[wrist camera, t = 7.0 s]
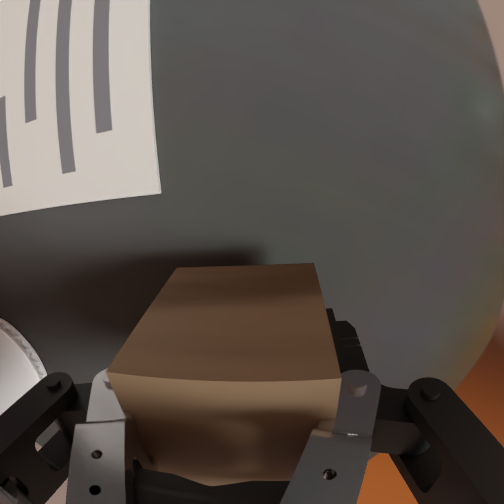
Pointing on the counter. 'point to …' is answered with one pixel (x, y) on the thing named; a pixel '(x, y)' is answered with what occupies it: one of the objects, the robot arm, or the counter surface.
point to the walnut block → (230, 372)
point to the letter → (75, 103)
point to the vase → (16, 366)
